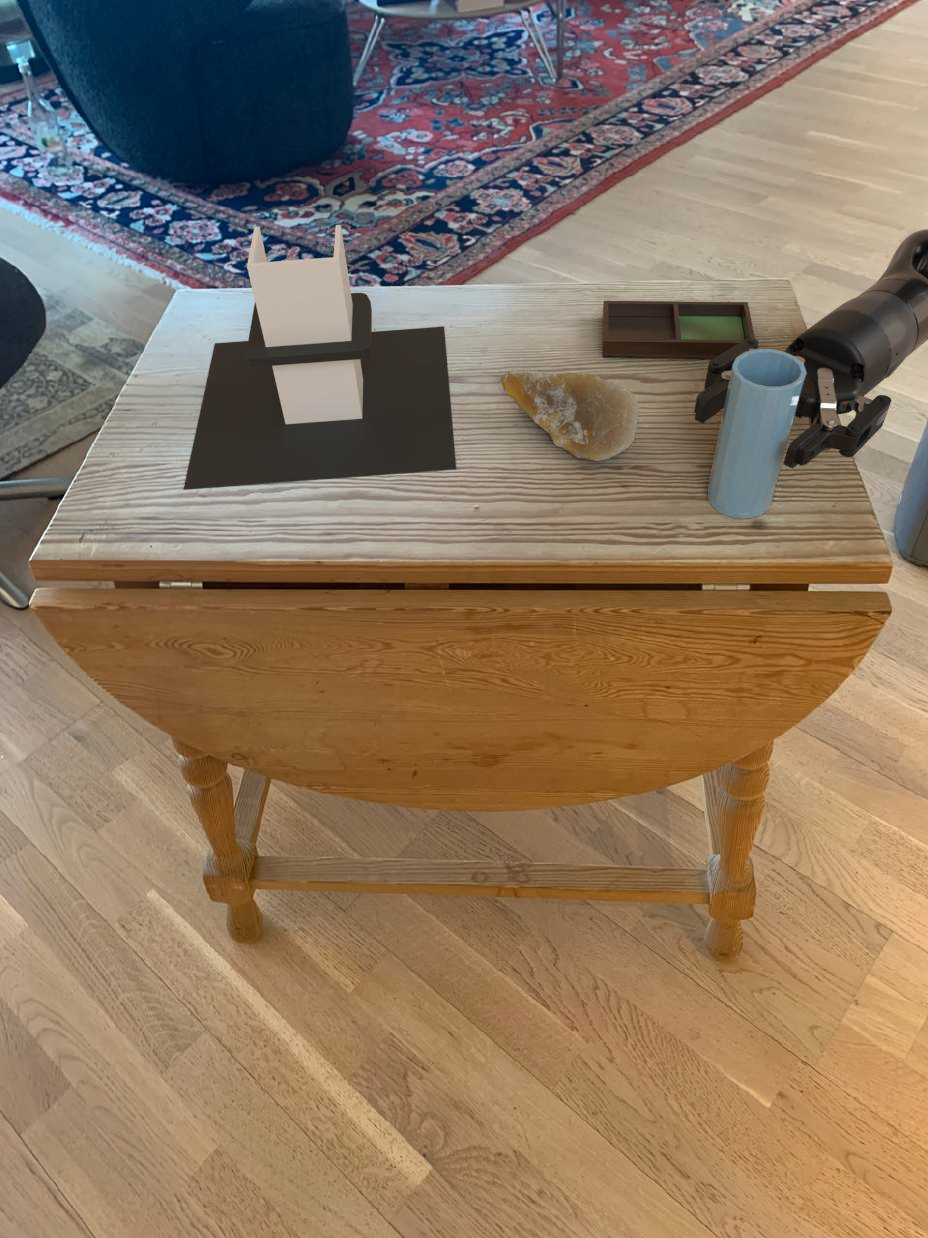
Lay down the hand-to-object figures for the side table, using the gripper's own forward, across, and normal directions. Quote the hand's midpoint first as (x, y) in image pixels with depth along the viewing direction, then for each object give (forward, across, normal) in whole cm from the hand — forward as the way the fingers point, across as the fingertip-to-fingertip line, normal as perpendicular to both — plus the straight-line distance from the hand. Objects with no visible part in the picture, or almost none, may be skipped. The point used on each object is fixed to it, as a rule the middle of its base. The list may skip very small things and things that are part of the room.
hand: (743, 434), depth 74 cm
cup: (-2, 0, +8) cm, 8 cm away
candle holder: (+14, -38, +8) cm, 41 cm away
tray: (-18, -20, +8) cm, 28 cm away
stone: (+2, -17, +8) cm, 19 cm away
